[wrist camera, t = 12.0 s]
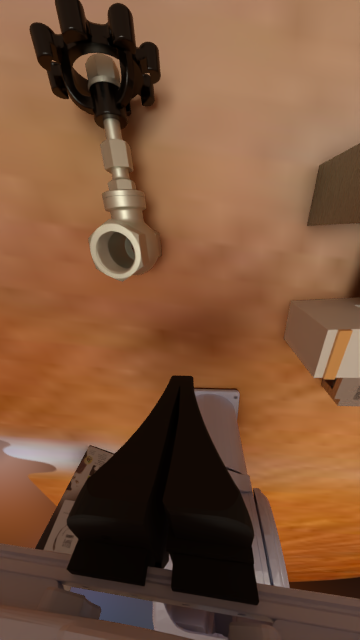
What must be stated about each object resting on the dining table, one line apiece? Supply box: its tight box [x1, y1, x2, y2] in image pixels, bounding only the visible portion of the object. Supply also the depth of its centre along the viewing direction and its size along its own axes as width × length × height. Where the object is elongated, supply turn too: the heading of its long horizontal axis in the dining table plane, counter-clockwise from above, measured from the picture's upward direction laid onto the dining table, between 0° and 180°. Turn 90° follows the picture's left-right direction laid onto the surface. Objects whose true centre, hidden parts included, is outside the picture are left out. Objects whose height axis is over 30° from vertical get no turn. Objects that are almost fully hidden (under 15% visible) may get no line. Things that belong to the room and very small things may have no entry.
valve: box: [30, 0, 162, 282], centre depth 13 cm, size 7×7×12 cm
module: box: [284, 297, 360, 380], centre depth 16 cm, size 4×7×6 cm
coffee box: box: [35, 446, 114, 591], centre depth 29 cm, size 9×6×16 cm
